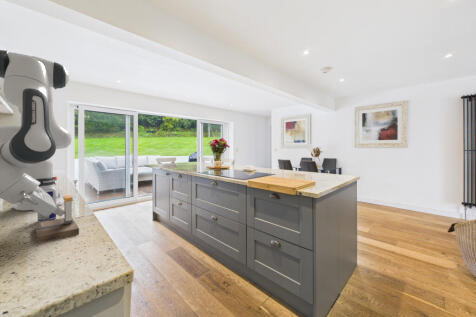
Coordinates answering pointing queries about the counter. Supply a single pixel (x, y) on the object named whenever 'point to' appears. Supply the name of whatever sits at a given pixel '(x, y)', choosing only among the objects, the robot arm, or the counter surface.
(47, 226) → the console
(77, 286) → the counter surface
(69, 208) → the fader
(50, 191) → the energy drink
